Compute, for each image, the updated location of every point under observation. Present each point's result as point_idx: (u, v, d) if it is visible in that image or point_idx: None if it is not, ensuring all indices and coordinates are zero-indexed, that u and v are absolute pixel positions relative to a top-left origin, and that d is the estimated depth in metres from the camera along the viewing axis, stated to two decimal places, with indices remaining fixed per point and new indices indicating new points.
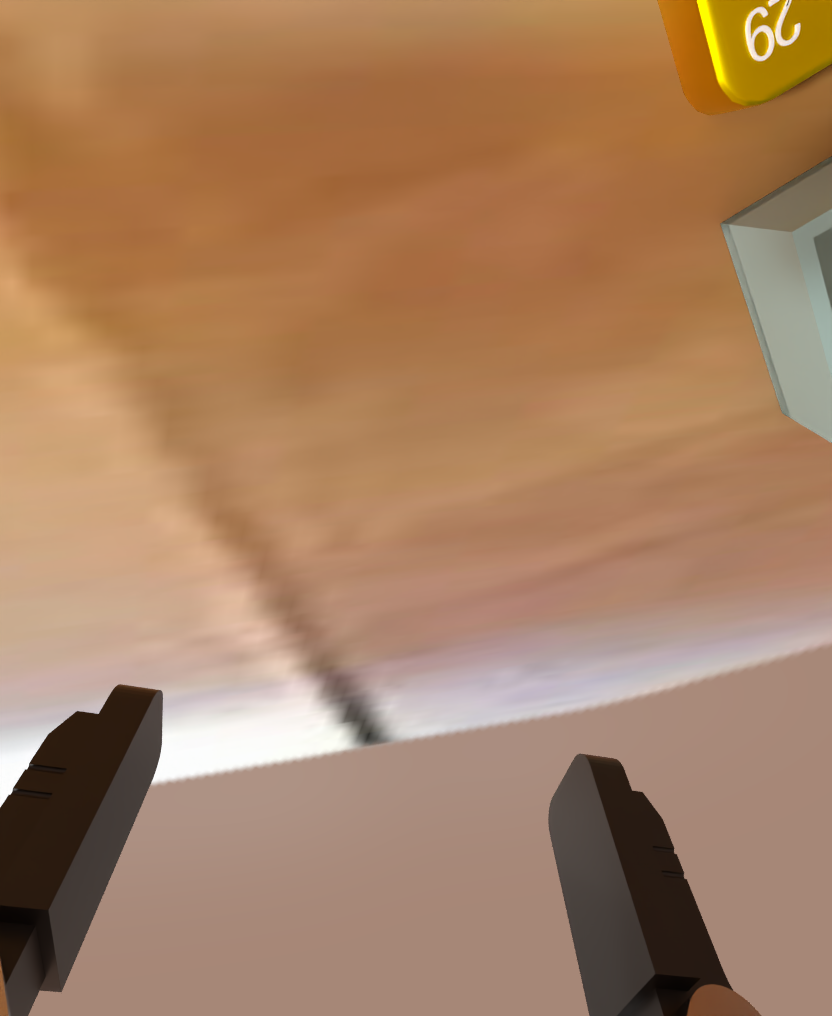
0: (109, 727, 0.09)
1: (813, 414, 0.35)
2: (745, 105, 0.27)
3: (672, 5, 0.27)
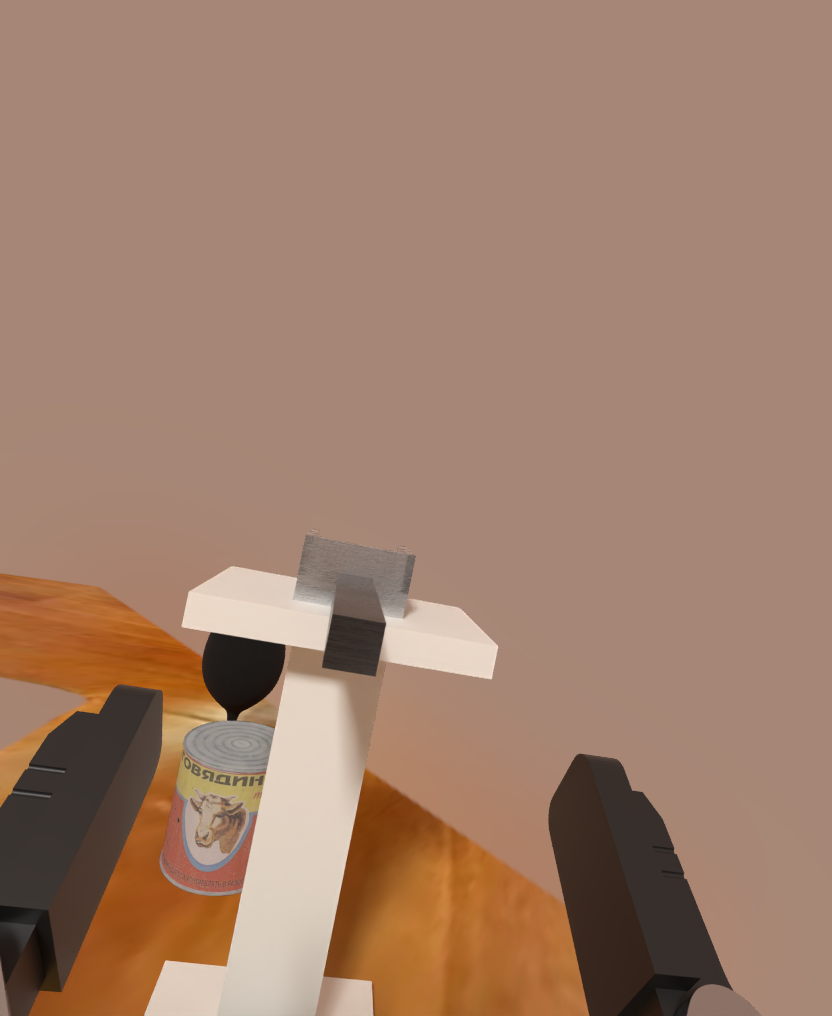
0: (109, 727, 0.09)
1: None
2: None
3: None
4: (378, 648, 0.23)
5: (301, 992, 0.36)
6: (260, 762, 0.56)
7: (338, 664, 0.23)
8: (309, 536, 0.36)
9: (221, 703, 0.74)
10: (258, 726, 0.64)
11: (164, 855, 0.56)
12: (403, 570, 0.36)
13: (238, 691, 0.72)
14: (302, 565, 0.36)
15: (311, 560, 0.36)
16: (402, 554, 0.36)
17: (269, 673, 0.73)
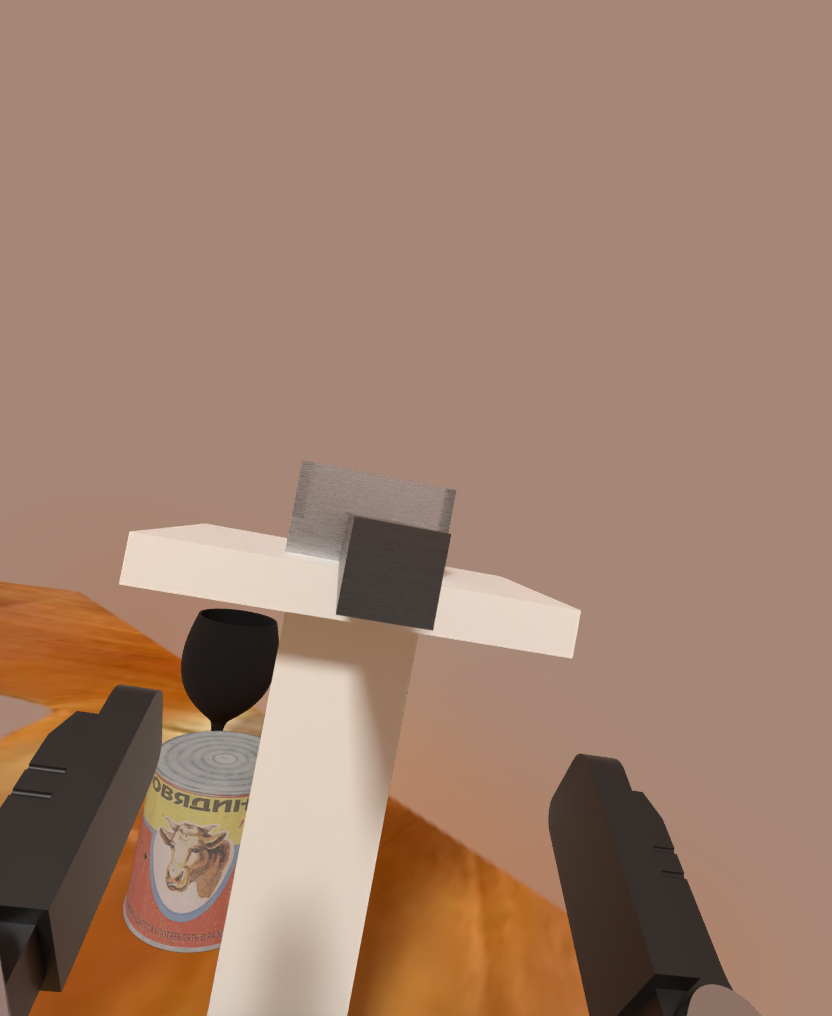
0: (109, 727, 0.09)
1: None
2: None
3: None
4: (437, 579, 0.13)
5: None
6: (248, 781, 0.45)
7: (366, 608, 0.13)
8: (307, 462, 0.25)
9: (204, 711, 0.63)
10: (246, 737, 0.53)
11: (128, 900, 0.45)
12: (439, 510, 0.26)
13: (223, 696, 0.61)
14: (298, 502, 0.25)
15: (310, 496, 0.25)
16: (437, 488, 0.26)
17: (260, 675, 0.62)
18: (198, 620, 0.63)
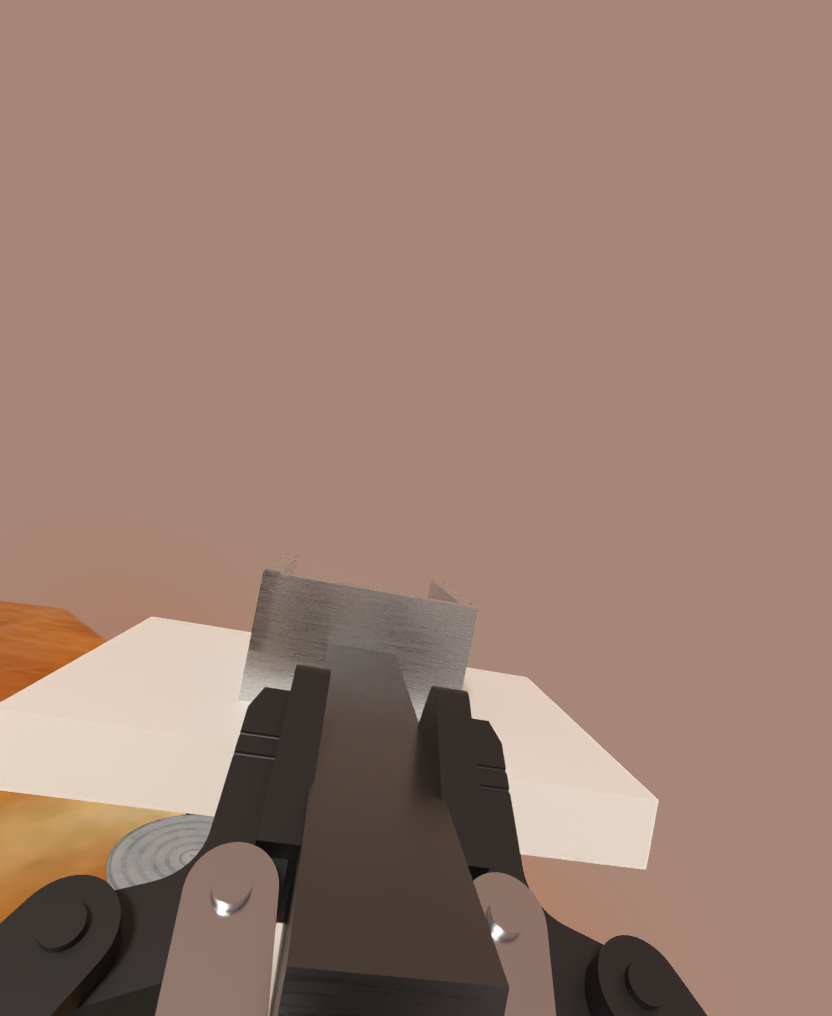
0: (303, 700, 0.10)
1: None
2: None
3: None
4: None
5: None
6: None
7: None
8: (270, 573, 0.18)
9: None
10: None
11: None
12: (454, 637, 0.19)
13: None
14: (257, 630, 0.18)
15: (275, 621, 0.18)
16: (452, 606, 0.19)
17: None
18: None
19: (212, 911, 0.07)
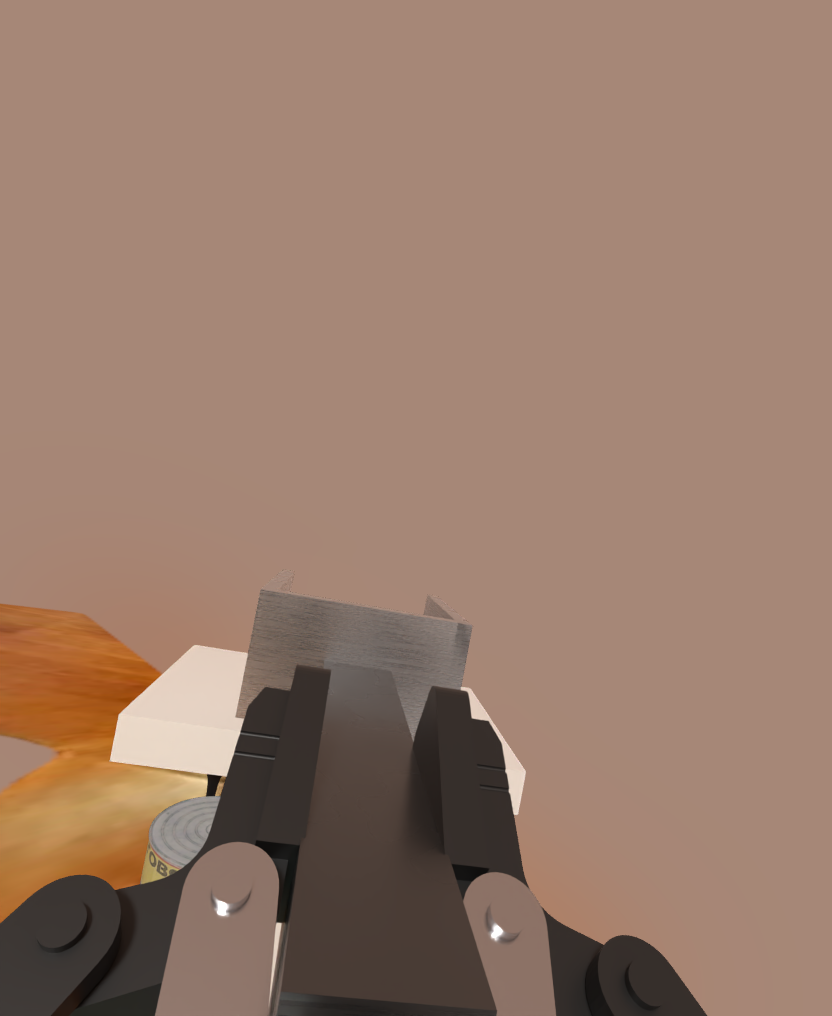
0: (303, 700, 0.10)
1: None
2: None
3: None
4: None
5: None
6: None
7: None
8: (268, 591, 0.18)
9: None
10: None
11: None
12: (449, 653, 0.19)
13: None
14: (254, 648, 0.18)
15: (272, 638, 0.18)
16: (447, 622, 0.19)
17: None
18: None
19: (212, 911, 0.07)
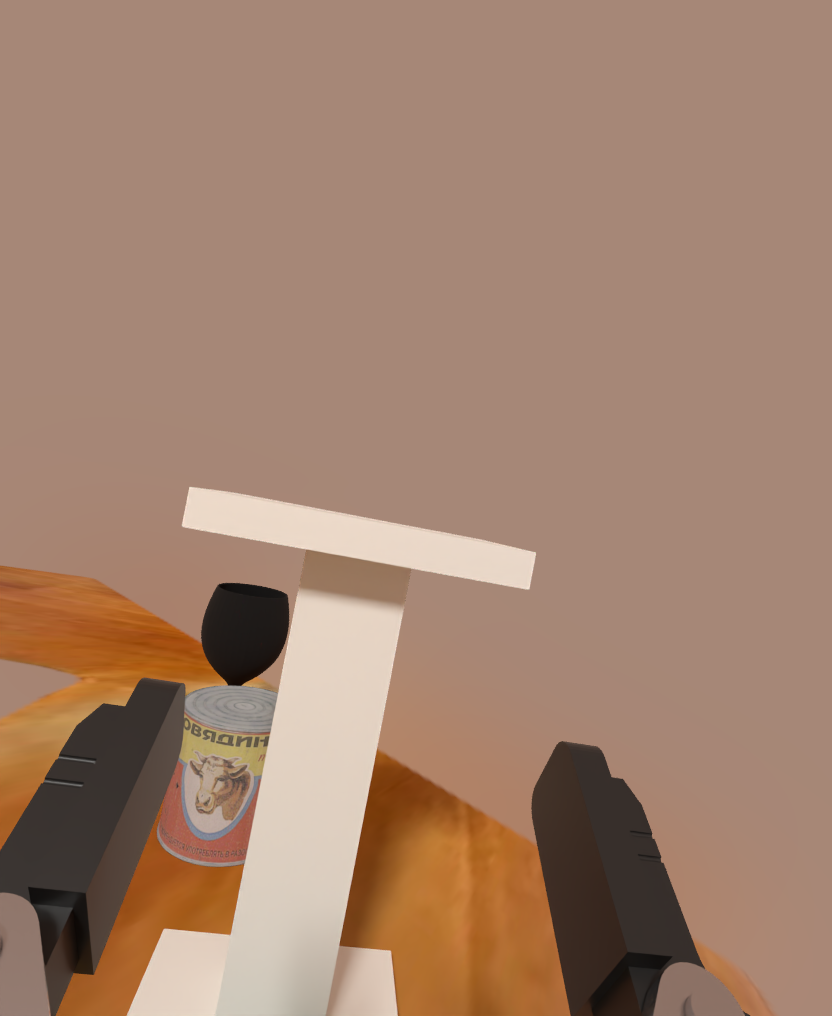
0: (136, 719, 0.09)
1: None
2: None
3: None
4: None
5: (317, 950, 0.32)
6: (265, 722, 0.52)
7: None
8: None
9: (222, 673, 0.70)
10: (262, 691, 0.60)
11: (162, 825, 0.52)
12: None
13: (240, 659, 0.68)
14: None
15: None
16: None
17: (272, 641, 0.69)
18: (217, 591, 0.70)
19: None
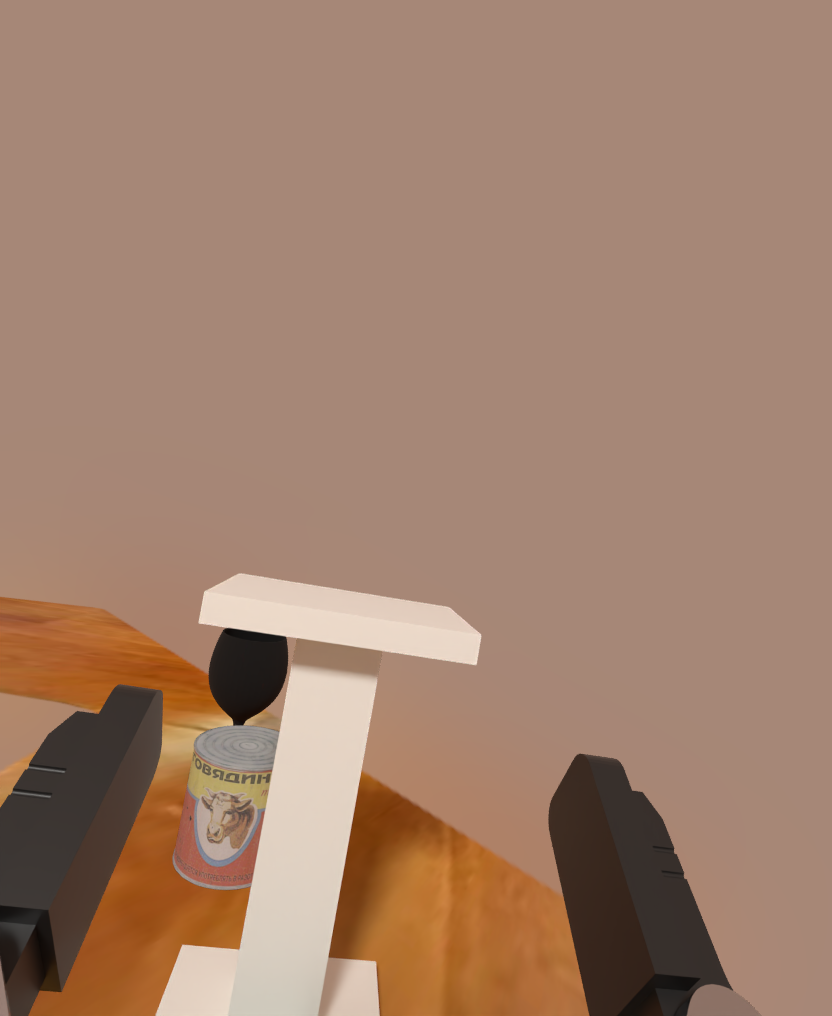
0: (109, 727, 0.09)
1: None
2: None
3: None
4: None
5: (310, 960, 0.39)
6: (267, 761, 0.59)
7: None
8: None
9: (227, 711, 0.77)
10: (264, 730, 0.67)
11: (177, 853, 0.59)
12: None
13: (244, 699, 0.75)
14: None
15: None
16: None
17: (273, 681, 0.77)
18: (222, 637, 0.77)
19: None
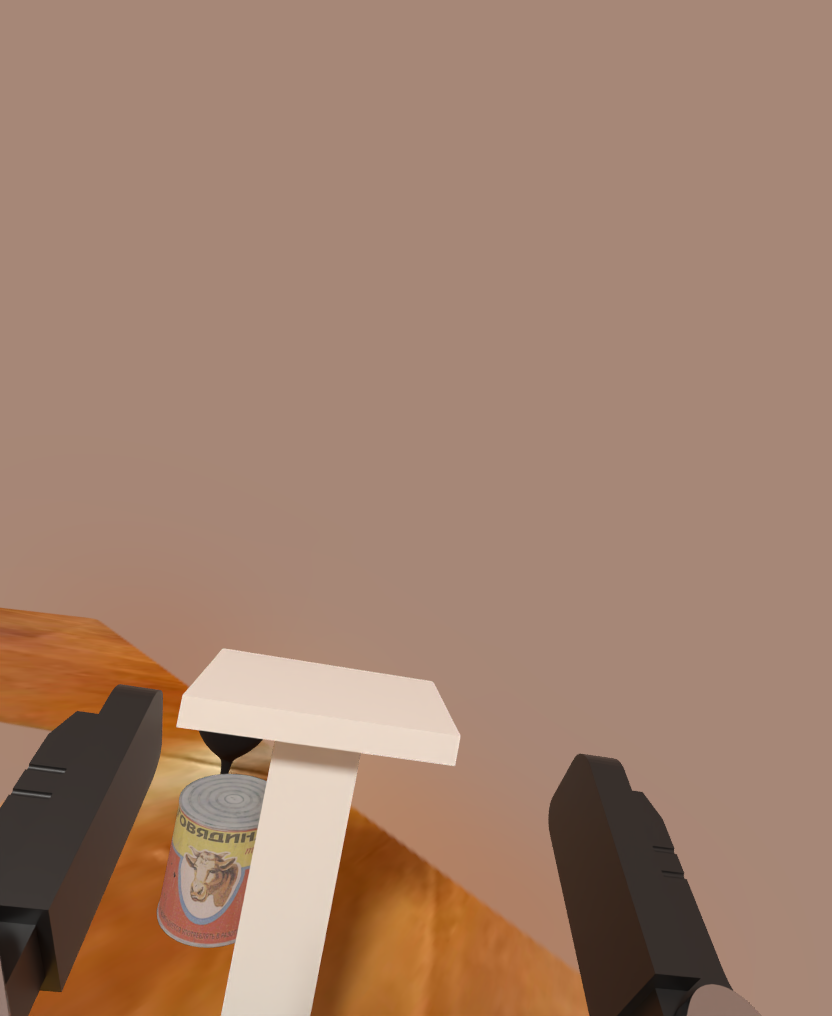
0: (109, 727, 0.09)
1: None
2: None
3: None
4: None
5: None
6: (251, 818, 0.60)
7: None
8: None
9: (215, 752, 0.77)
10: (250, 779, 0.68)
11: (161, 908, 0.59)
12: None
13: (231, 741, 0.75)
14: None
15: None
16: None
17: None
18: None
19: None
